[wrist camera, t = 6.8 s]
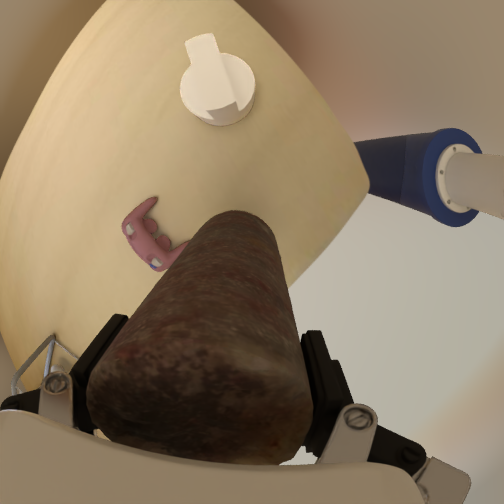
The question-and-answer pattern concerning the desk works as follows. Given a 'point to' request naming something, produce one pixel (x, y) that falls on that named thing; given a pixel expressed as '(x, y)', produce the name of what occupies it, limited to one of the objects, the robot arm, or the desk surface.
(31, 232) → the desk surface
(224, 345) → the rusty brown cylinder
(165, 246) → the video game controller
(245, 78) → the base with upright slab
